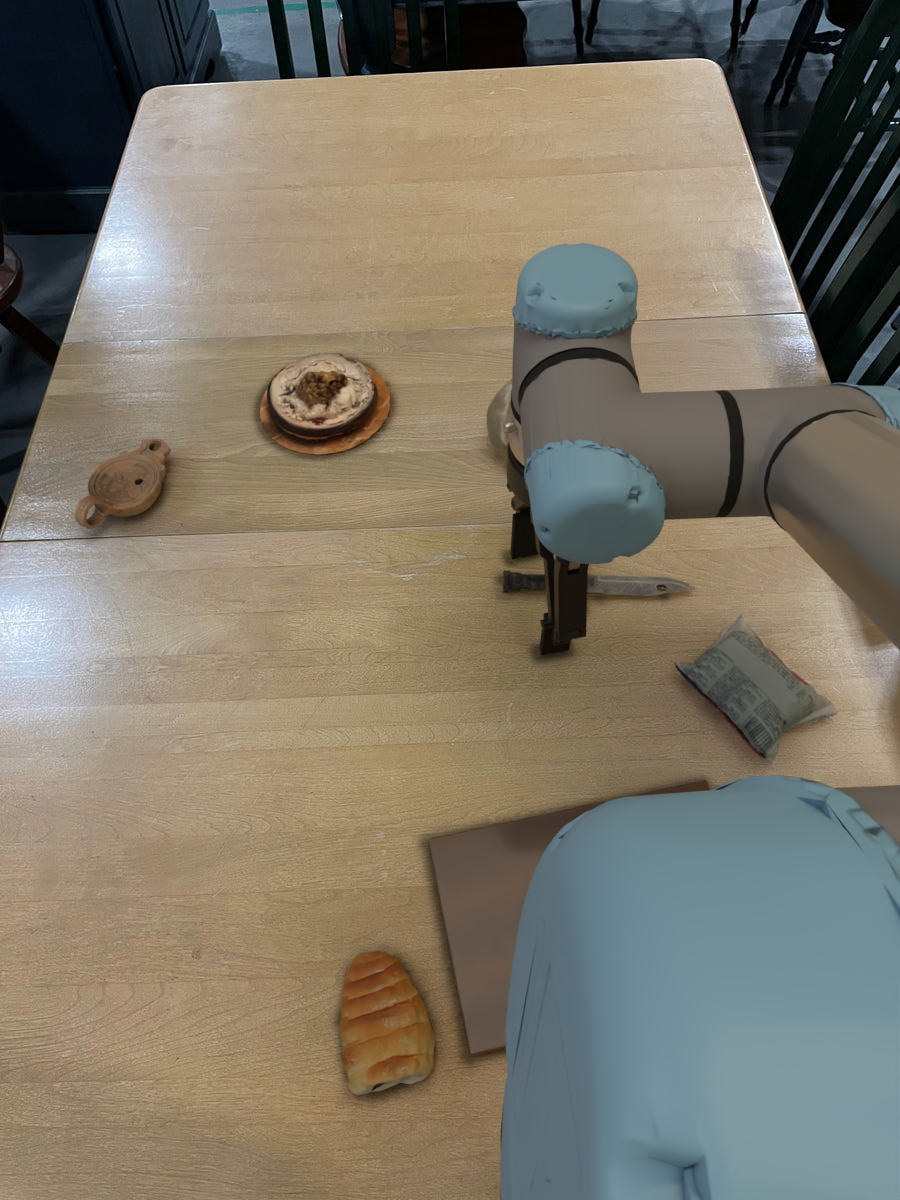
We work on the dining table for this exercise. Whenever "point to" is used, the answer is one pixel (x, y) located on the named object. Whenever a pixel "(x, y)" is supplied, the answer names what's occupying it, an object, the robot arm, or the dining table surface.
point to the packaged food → (754, 689)
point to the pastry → (383, 1026)
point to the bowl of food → (324, 404)
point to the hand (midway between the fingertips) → (538, 600)
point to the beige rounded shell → (499, 420)
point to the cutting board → (494, 908)
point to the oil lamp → (125, 484)
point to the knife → (600, 584)
